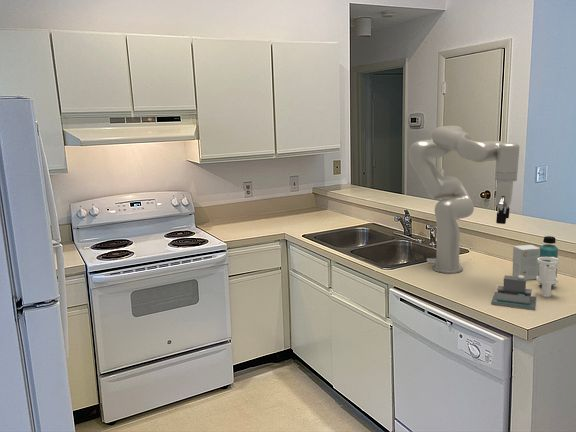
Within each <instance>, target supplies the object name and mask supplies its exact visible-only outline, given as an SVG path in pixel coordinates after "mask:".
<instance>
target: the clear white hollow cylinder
mask: <svg viewBox="0 0 576 432" xmlns="http://www.w3.org/2000/svg"><path fill="white" fill-rule="evenodd" d="M541 260H551V262H545V261H541ZM554 261H555V262H554ZM537 262H538V263H540V265H539V276H537V277H536V279H535V280H536V282H537V283H538V284H539V283H542V284H541V292H540V293H541V296H542V297H544V298H549V297H551V295H552V286H551V284H556V285H557V284H559V279H558V277H557V278H556V269H555V268H557V269H559V264H560V258H555V257H539V258H537ZM541 264H542V265H541ZM547 264H548V265H549V267H547Z"/></svg>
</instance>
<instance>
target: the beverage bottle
mask: <svg viewBox="0 0 576 432" xmlns="http://www.w3.org/2000/svg"><path fill="white" fill-rule="evenodd" d="M542 242H543V244H542V245H541V246H540V247H539V248H540V257H555V258H558V257H559V255H558V254H559V248H558V247H557V246H556V245H555V244H556V237H555V236H552V235H551V236H549V235H548V236H544V237H543V241H542ZM541 261H545V262H551V260H541ZM554 262H555V261H554ZM539 265H540V263H539ZM541 265H542V264H541ZM547 267H549V265H548V264H547ZM555 269H556V278H557V279H558V268H555ZM538 276H539V272H538ZM538 284H539V285H542V283H539V282H538ZM556 285H557V284H551V287H554V286H556Z"/></svg>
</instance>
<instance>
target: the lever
mask: <svg viewBox="0 0 576 432" xmlns="http://www.w3.org/2000/svg"><path fill="white" fill-rule="evenodd" d="M526 284H527V280H526V277H524V276H523V275H518V277H516V276H512V275H504V277H503V285H497V291H496V292H498V291H503V293H510V294H518V293H519V294H529V295H531V296H532V292H533V289H532V288H527V285H526Z"/></svg>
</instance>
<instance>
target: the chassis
mask: <svg viewBox="0 0 576 432" xmlns="http://www.w3.org/2000/svg"><path fill="white" fill-rule="evenodd" d="M491 304H493V306H498V305H501V306H500V307H506V306H507V308H514V307H515V309H521V308H522V309H521V310H523V309H524V310H528V311H529V310H531V311H535V310H536V304H537V296H534V295H533V296H532V294H531V295H529V294H519V293H518V294H510V293H503V291H494V294H493V297H492V299H491V303H490V305H491Z"/></svg>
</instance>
